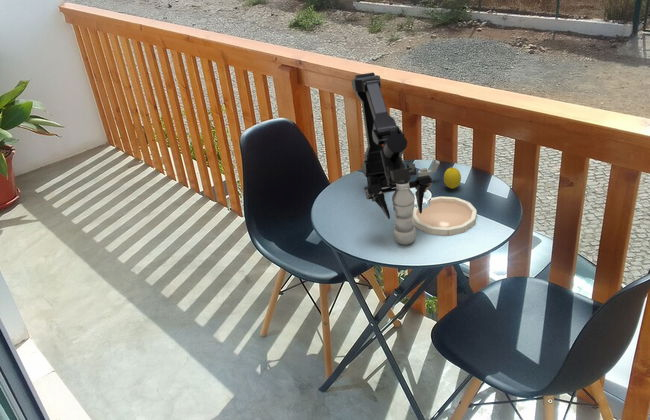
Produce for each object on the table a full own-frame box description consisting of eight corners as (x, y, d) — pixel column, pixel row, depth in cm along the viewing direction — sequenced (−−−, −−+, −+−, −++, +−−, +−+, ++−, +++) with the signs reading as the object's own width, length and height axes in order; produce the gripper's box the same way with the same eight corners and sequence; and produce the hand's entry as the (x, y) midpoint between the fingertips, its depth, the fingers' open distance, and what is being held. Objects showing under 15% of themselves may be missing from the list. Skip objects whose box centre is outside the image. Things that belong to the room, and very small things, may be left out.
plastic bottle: (412, 233, 178) (410, 174, 167) (419, 245, 172) (417, 185, 162) (391, 237, 177) (387, 178, 167) (397, 249, 171) (394, 189, 161)
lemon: (460, 193, 195) (461, 171, 190) (443, 192, 196) (443, 171, 192) (460, 184, 199) (461, 163, 195) (444, 184, 200) (444, 163, 196)
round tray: (400, 220, 184) (399, 215, 183) (438, 196, 194) (438, 190, 193) (449, 242, 171) (449, 236, 170) (488, 215, 182) (488, 209, 181)
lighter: (418, 183, 203) (418, 162, 199) (418, 181, 204) (417, 160, 200) (439, 183, 202) (439, 162, 198) (439, 180, 203) (439, 159, 199)
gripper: (364, 160, 163) (376, 214, 160) (430, 149, 165) (443, 202, 161) (360, 173, 174) (371, 224, 170) (422, 162, 176) (434, 213, 172)
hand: (405, 216), depth 168 cm, fingers open, 9 cm apart
